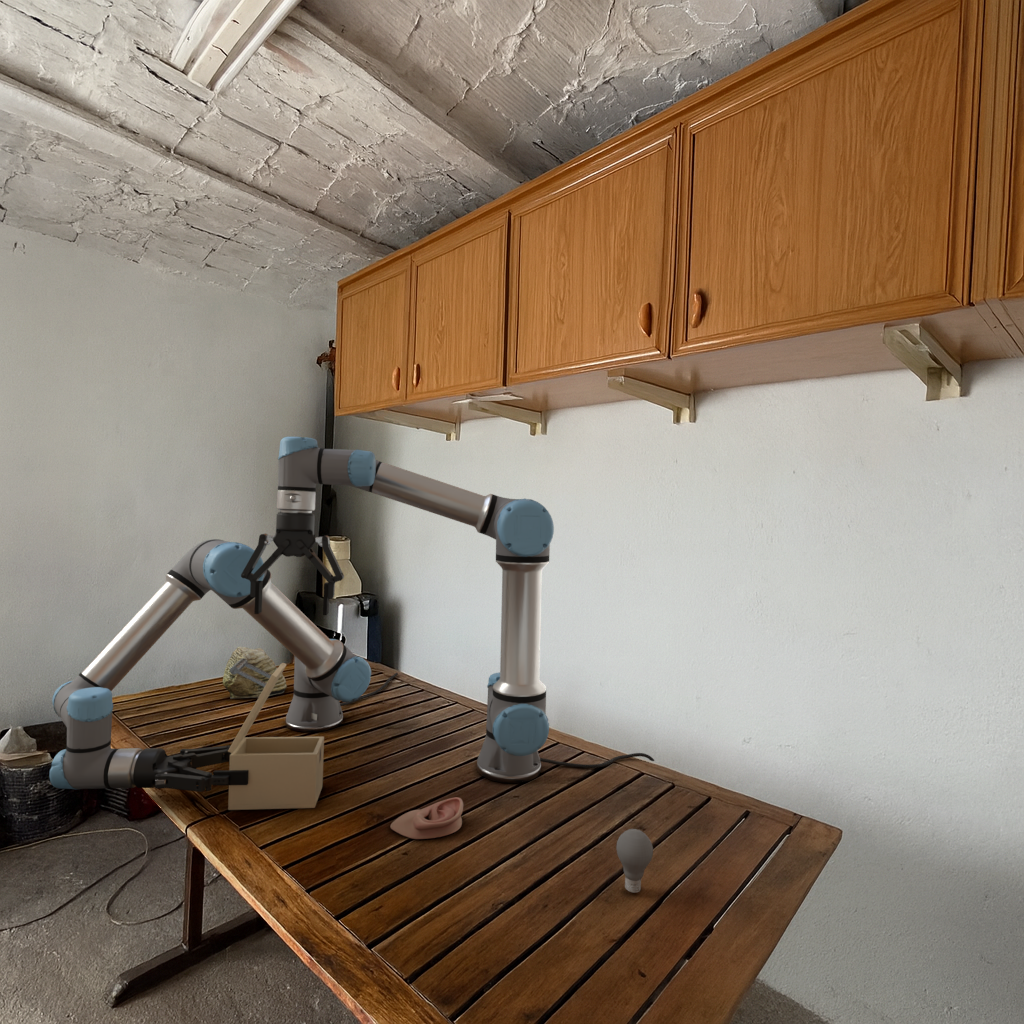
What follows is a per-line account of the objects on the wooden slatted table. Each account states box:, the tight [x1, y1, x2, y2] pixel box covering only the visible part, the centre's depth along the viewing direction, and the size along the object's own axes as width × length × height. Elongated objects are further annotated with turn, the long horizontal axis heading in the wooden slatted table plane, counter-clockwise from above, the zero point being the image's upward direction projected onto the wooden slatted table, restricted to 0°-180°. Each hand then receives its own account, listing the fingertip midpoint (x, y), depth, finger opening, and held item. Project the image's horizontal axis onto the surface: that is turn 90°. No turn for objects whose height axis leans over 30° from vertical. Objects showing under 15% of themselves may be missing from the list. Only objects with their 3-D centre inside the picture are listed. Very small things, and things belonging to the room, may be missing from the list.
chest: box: [227, 736, 325, 811], centre depth 132 cm, size 17×10×11 cm, turn 98°
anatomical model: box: [390, 797, 464, 840], centre depth 124 cm, size 13×4×12 cm
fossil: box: [222, 646, 288, 699], centre depth 198 cm, size 9×18×15 cm, turn 132°
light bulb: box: [615, 828, 654, 894], centre depth 106 cm, size 6×6×10 cm
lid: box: [228, 658, 287, 753], centre depth 131 cm, size 17×10×9 cm
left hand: (254, 766), depth 132 cm, fingers closed on chest, 9 cm apart
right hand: (292, 613), depth 132 cm, fingers open, 13 cm apart
